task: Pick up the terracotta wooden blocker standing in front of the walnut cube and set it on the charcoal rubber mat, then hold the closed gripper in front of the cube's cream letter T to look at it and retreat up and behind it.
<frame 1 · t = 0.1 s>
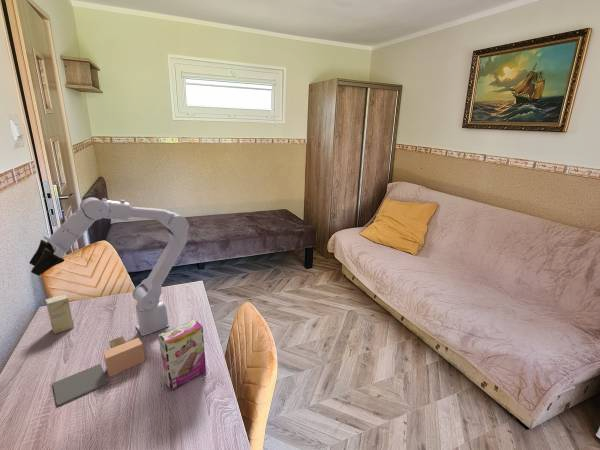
hand: (33, 269, 92), 32 cm above the table, tool tilted 50°, fingers open, 7 cm apart
candy bar box: (186, 377, 96), on the table
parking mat: (80, 384, 93), on the table
letter cube: (119, 351, 107), on the table
skincare box: (63, 328, 118), on the table
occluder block: (126, 365, 101), on the table
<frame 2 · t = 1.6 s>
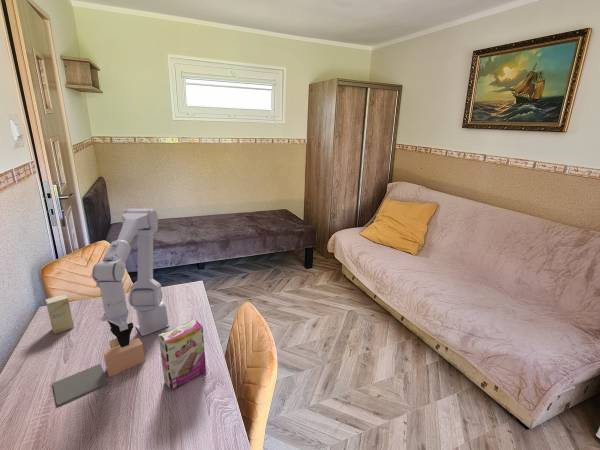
hand: (121, 339, 98), 9 cm above the table, tool pointing down, fingers open, 7 cm apart
nothing on the table moved.
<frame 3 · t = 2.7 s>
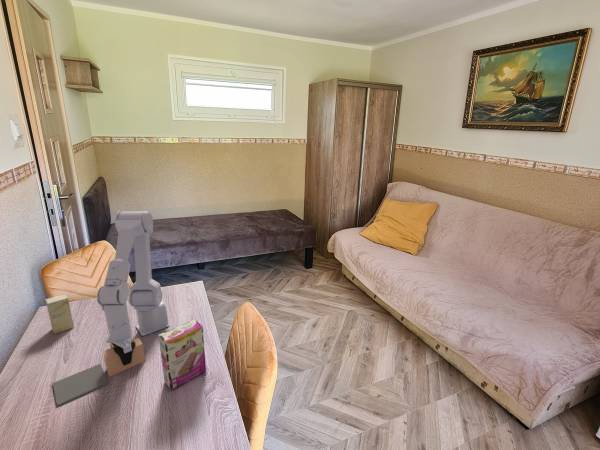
hand: (125, 359, 100), 2 cm above the table, tool pointing down, fingers closed on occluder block, 4 cm apart
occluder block: (126, 365, 101), on the table, touching gripper
everything else where it was.
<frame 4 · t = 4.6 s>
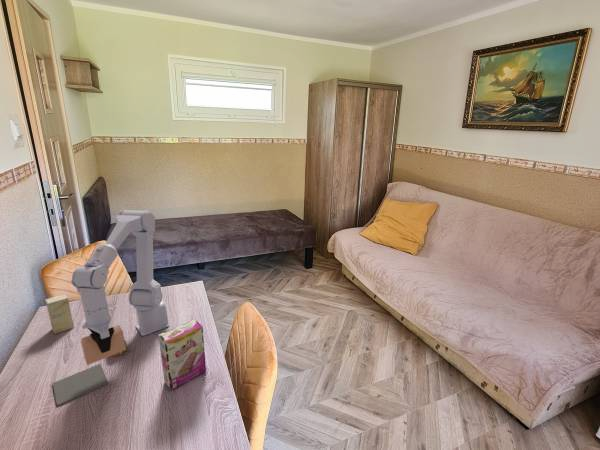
hand: (103, 347, 95), 9 cm above the table, tool pointing down, fingers closed on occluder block, 4 cm apart
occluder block: (105, 353, 96), point 7 cm above the table, touching gripper
everything else where it was.
when the fingers open (4 cm above the table, at t = 6.4 s): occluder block stays where it is, resting on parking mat.
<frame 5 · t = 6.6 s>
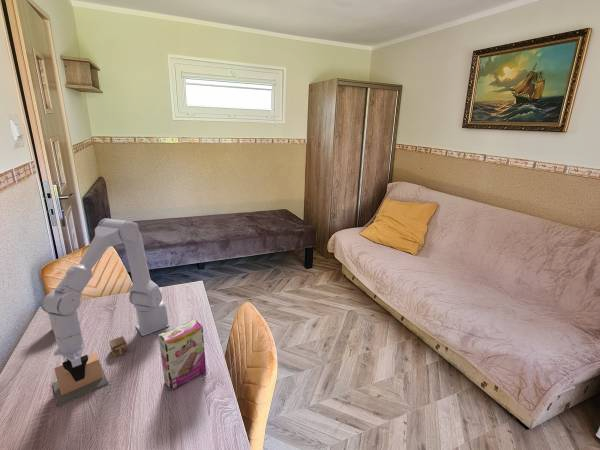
hand: (78, 373, 92), 4 cm above the table, tool pointing down, fingers open, 6 cm apart
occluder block: (81, 382, 93), resting on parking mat
everything else where it was.
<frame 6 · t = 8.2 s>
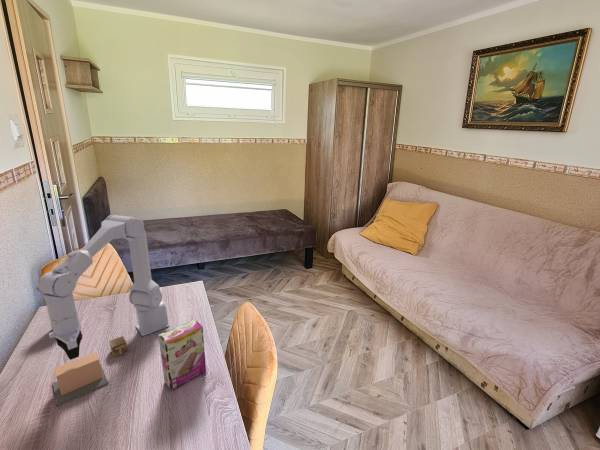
hand: (74, 357, 90), 9 cm above the table, tool pointing down, fingers closed
nothing on the table moved.
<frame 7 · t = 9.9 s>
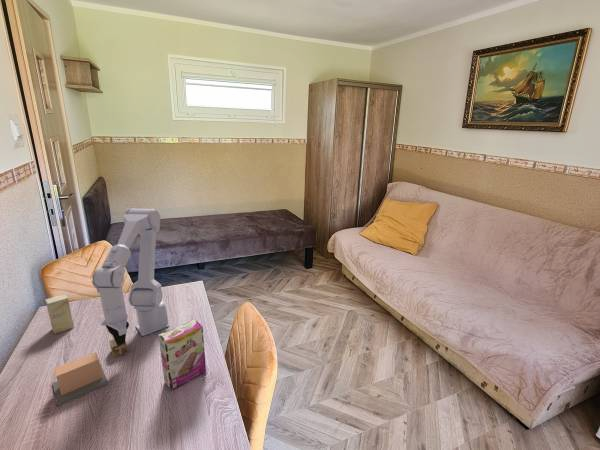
hand: (120, 343, 101), 6 cm above the table, tool pointing down, fingers closed
nothing on the table moved.
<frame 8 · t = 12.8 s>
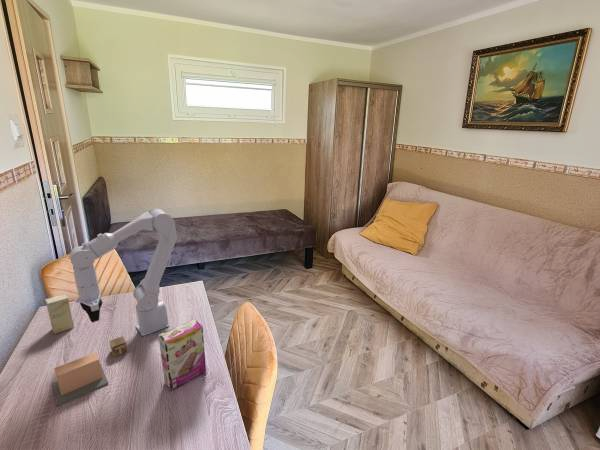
hand: (95, 320, 107), 9 cm above the table, tool pointing down, fingers closed
nothing on the table moved.
at the end: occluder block 0.3 cm off-centre on the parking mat, point 0.5 cm above the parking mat's base; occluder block tilted 0°; letter cube moved 0.1 cm from its start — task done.
